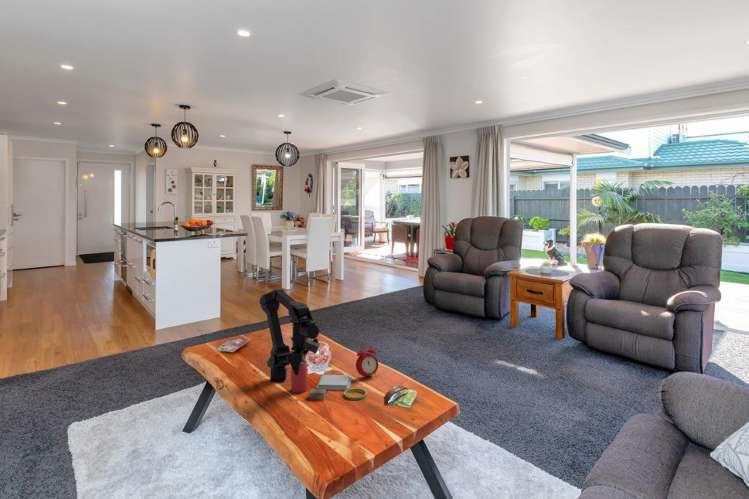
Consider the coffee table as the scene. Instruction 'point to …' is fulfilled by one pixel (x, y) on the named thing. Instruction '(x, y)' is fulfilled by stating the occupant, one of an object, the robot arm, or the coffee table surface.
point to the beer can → (299, 379)
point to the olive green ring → (355, 391)
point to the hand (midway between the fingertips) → (299, 371)
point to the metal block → (317, 394)
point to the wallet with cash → (392, 392)
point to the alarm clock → (366, 362)
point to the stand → (334, 382)
